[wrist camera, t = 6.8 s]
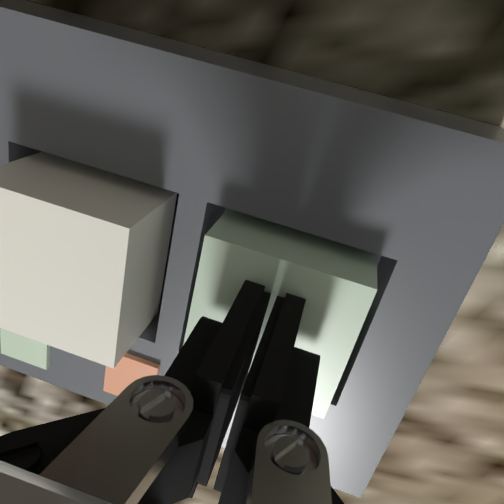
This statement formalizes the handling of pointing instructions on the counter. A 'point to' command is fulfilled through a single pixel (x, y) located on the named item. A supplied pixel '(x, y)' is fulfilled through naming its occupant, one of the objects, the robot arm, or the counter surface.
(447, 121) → the keypad
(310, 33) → the counter surface
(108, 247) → the cream key
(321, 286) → the sage key
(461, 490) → the counter surface
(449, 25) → the counter surface
